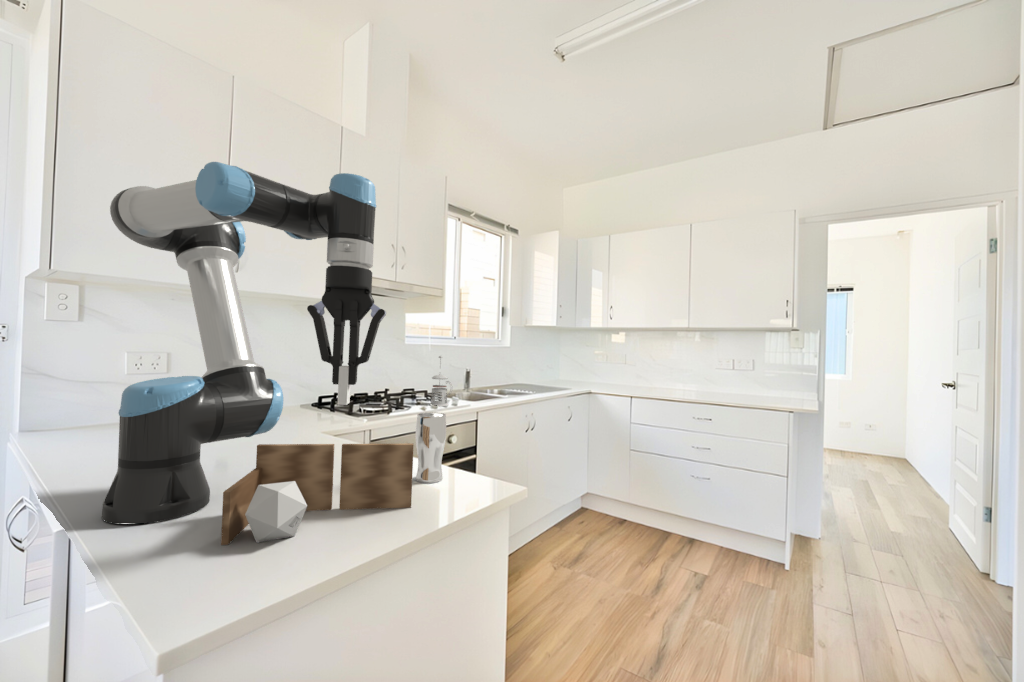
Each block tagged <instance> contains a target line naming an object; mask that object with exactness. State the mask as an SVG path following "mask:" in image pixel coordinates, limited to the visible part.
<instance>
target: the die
mask: <svg viewBox="0 0 1024 682" xmlns="http://www.w3.org/2000/svg"><path fill="white" fill-rule="evenodd" d="M306 508H307V504H306V502H305V500H304V498H303V496H302V494H301V492H300V490H299V488H298V486H297V484H296V482H295V481H290V482H281V483H272V484H263V485H258V487H257V489H256V492H255V494H254V496H253V498H252V500H251V503H250V505H249V507H248V509H247V512H246V514H245V516H246V518H247V520H248V523H249V524H248V525H249V528H250V530H251V532H252V535H253V538H254V540H255V543H257V544H258V543H264V542H268V541H274V540H279V539H286V538H292V537H295V536H296V533H297V531H298V530H299V526H300V524H301V522H302V520H303V517H304V516H305V512H306V511H305V510H306Z"/></svg>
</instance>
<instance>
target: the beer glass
mask: <svg viewBox="0 0 1024 682" xmlns="http://www.w3.org/2000/svg"><path fill="white" fill-rule="evenodd" d="M446 418H447V414H446V413H445V412H444V413H443V412H438V411H434V412H433V411H430V412H428V411H426V412H420V413H417V416H416V424H415V445H416V446H415V447H416V453H417V461H418V462H417V465H418V466H417V471H416V474H415V475H416V476H415V480H416V481H417V482H419V483H421V484H422V483H423V484H436V483H439V482H441V481H442V480H443V478H444V476H443V469H442V462H443V461H442V460H443V455H444V452H445V451H444V449H445V446H446V438H447V419H446Z"/></svg>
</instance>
